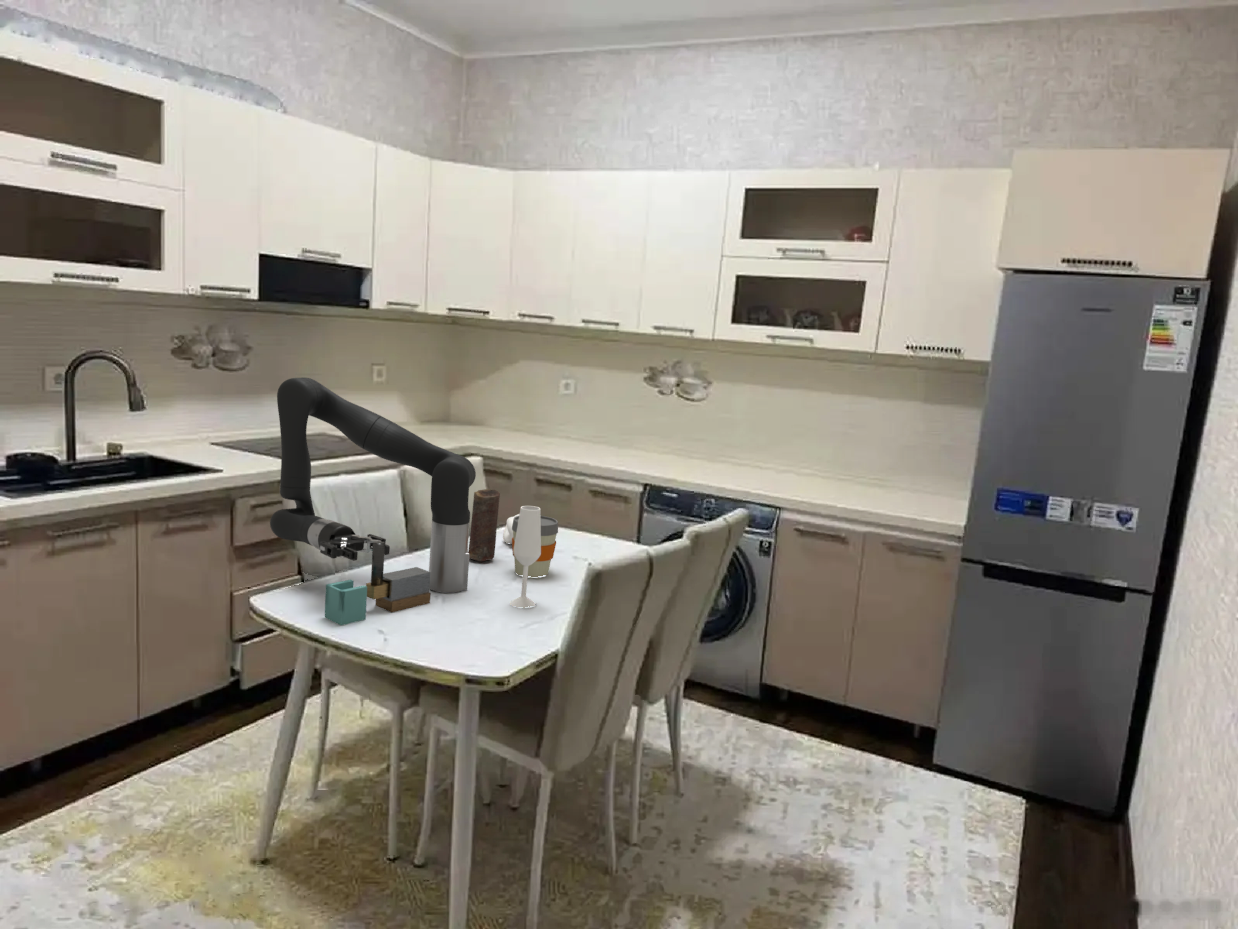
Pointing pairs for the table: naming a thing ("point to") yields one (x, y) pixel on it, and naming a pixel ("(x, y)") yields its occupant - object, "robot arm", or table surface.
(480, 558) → the candle
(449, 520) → the robot arm
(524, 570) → the champagne flute
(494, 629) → the table surface
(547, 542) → the reusable coffee cup
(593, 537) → the table surface
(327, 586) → the socket
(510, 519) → the white rounded piece
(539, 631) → the table surface
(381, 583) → the board with post
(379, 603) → the sleeve
